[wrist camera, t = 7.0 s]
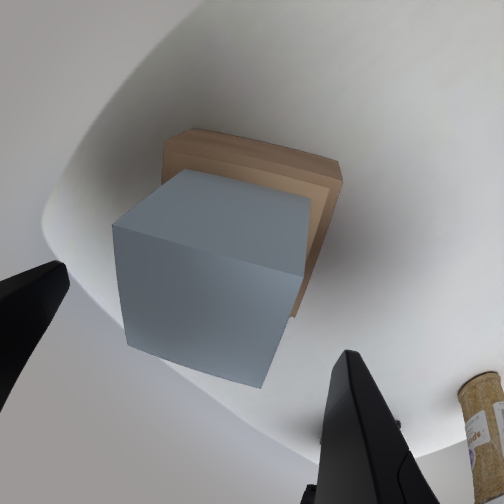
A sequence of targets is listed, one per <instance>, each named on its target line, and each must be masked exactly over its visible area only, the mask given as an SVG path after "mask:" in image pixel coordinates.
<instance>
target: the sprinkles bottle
mask: <svg viewBox="0 0 504 504" xmlns="http://www.w3.org/2000/svg"><path fill="white" fill-rule="evenodd" d="M458 400H459V402H460V404H461V407H462V412H463V417H464V421H465V430H466V436H467V442H468V448H469V455H470V461H471V469H472V474H473V484H474V496H475V497H474V498H475V503H474V504H504V393H503V389H502V387H501V379H500V376H499V375H498V374H496V373H486V374H484V375H481V376H478V377H476V378H474V379H473V380H471V381H470V382H469V383H467V384H466V385H465V386H464V387H463V388H462V389H461V391H460V393H459V395H458Z"/></svg>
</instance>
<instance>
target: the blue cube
mask: <svg viewBox="0 0 504 504" xmlns="http://www.w3.org/2000/svg"><path fill="white" fill-rule="evenodd" d="M310 202H311V199H310V198H306V197H303V196H299V195H295V194H292V193H288V192H284V191H280V190H276V189H272V188H268V187H264V186H260V185H256V184H252V183H248V182H244V181H239V180H235V179H231V178H226V177H222V176H217V175H213V174H208V173H204V172H199V171H194V170H189V169H184V170H182V171H181V172H180V173H178V174H177V175H175V176H174V177H173V178H171V179H170V180H169V181H167V182H166V183H165V184H163V185H162V186H161V187H159V188H158V189H157V190H155V191H154V192H153V193H151V194H150V195H149V196H147V197H146V198H145V199H143V200H142V201H141V202H140V203H138V204H137V205H136V206H135V207H133V208H132V209H131V210H130V211H128V212H127V213H126V214H125V215H123V216H122V217H121V218H120V219H118V220H117V221H116V222H115V223H114V224H112V229H113V242H114V254H115V264H116V273H117V281H118V289H119V297H120V303H121V310H122V316H123V322H124V328H125V334H126V339H127V344H128V345H129V346H131V347H134V348H136V349H139V350H141V351H144V352H146V353H149V354H152V355H154V356H157V357H160V358H162V359H165V360H168V361H171V362H173V363H176V364H179V365H182V366H185V367H188V368H191V369H194V370H197V371H200V372H203V373H207V374H210V375H213V376H216V377H220V378H223V379H227V380H230V381H234V382H237V383H241V384H244V385H248V386H252V387H256V388H260V389H261V387H262V384H263V382H264V380H265V377H266V375H267V372H268V370H269V367H270V365H271V362H272V360H273V357H274V355H275V352H276V350H277V347H278V345H279V342H280V340H281V337H282V335H283V332H284V329H285V327H286V324H287V322H288V319H289V316H290V314H291V311H292V308H293V306H294V303H295V300H296V297H297V295H298V292H299V289H300V286H301V284H302V281H303V278H304V270H305V261H306V250H307V239H308V228H309V216H310Z"/></svg>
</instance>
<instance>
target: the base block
mask: <svg viewBox="0 0 504 504" xmlns="http://www.w3.org/2000/svg"><path fill="white" fill-rule="evenodd" d="M184 169H189V170H194V171H199V172H204V173H208V174H213V175H217V176H222V177H226V178H231V179H235V180H239V181H244V182H248V183H252V184H256V185H260V186H264V187H268V188H272V189H276V190H280V191H284V192H288V193H292V194H295V195H299V196H303V197H306V198H310V199H311V202H310V216H309V228H308V239H307V250H306V261H305V270H304V278H303V281H302V284H301V286H300V289H299V292H298V295H297V297H296V300H295V303H294V306H293V308H292V311H291V314H290V316H291V317H294V318H295V316H296V313H297V311H298V308H299V306H300V303H301V301H302V298H303V295H304V293H305V290H306V288H307V285H308V282H309V280H310V277H311V274H312V271H313V269H314V266H315V263H316V260H317V258H318V255H319V252H320V249H321V246H322V244H323V241H324V238H325V235H326V232H327V229H328V226H329V223H330V220H331V217H332V214H333V211H334V208H335V205H336V202H337V199H338V196H339V193H340V190H341V186H342V183H343V179H342V175H341V171H340V167H339V163H338V161H334V160H331V159H328V158H324V157H320V156H317V155H313V154H310V153H306V152H302V151H298V150H294V149H290V148H286V147H282V146H278V145H274V144H270V143H265V142H261V141H256V140H252V139H247V138H242V137H237V136H232V135H227V134H222V133H217V132H211V131H205V130H200V129H194V128H193V129H190V130H188V131H185V132H183V133H181V134H178V135H176V136H174V137H171V138H169V139H167V140H165V143H164V155H163V168H162V183H161V186H162V185H163V184H165V183H166V182H167V181H169V180H170V179H171V178H173V177H174V176H175V175H177V174H178V173H180V172H181V171H182V170H184Z"/></svg>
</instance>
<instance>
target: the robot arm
mask: <svg viewBox="0 0 504 504" xmlns="http://www.w3.org/2000/svg"><path fill="white" fill-rule="evenodd" d="M69 286H70V281H69V276H68V272H67V268H66V265H65V264H64V263H62V262H60V261H57V260H54V261H51V262H49V263H46V264H43V265H40V266H38V267H35V268H33V269H30V270H27V271H25V272H22V273H20V274H17V275H15V276H12V277H10V278H7V279H5V280H2V281H0V412H1V410H2V408H3V406H4V404H5V402H6V400H7V398H8V396H9V394H10V392H11V390H12V388H13V386H14V384H15V383H16V380H17V379H18V377H19V375H20V373H21V372H22V370H23V368H24V366H25V364H26V363H27V361H28V359H29V357H30V356H31V354H32V352H33V351H34V349H35V347H36V345H37V344H38V342H39V341H40V339H41V338H42V336H43V334H44V333H45V331H46V330H47V328H48V326H49V325H50V323H51V321H52V319H53V317H54V315H55V313H56V312H57V310H58V308H59V306H60V304H61V302H62V300H63V299H64V297H65V295H66V293H67V291H68V289H69ZM400 428H401V423H399V422H396V421H395V419H394V417H393V415H392V413H391V411H390V409H389V408H388V406H387V404H386V402H385V400H384V398H383V396H382V394H381V392H380V390H379V389H378V387H377V385H376V383H375V381H374V379H373V377H372V376H371V374H370V372H369V370H368V368H367V366H366V364H365V363H364V361H363V359H362V357H361V355H360V354H359V353H358V352H356V351H352V350H344V351H343V353H342V354H341V356H340V357H339V359H338V360H337V362H336V364H335V365H334V367H333V370H332V374H331V380H330V386H329V392H328V397H327V403H326V408H325V413H324V420H323V431H322V438H321V439H320V444H321V453H320V463H319V473H318V481H317V485H314V484H309V485H307V488H306V490H305V492H304V494H303V497H302V500H301V503H300V504H440V503H439V501H438V500H437V498H436V496H435V495H434V493H433V491H432V490H431V488H430V486H429V485H428V483H427V481H426V480H425V478H424V476H423V475H422V473H421V471H420V469H419V467H418V465H417V463H416V461H415V459H414V457H413V455H412V453H411V451H410V450H409V447H408V445H407V443H406V441H405V439H404V437H403V435H402V433H401V431H400Z"/></svg>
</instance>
